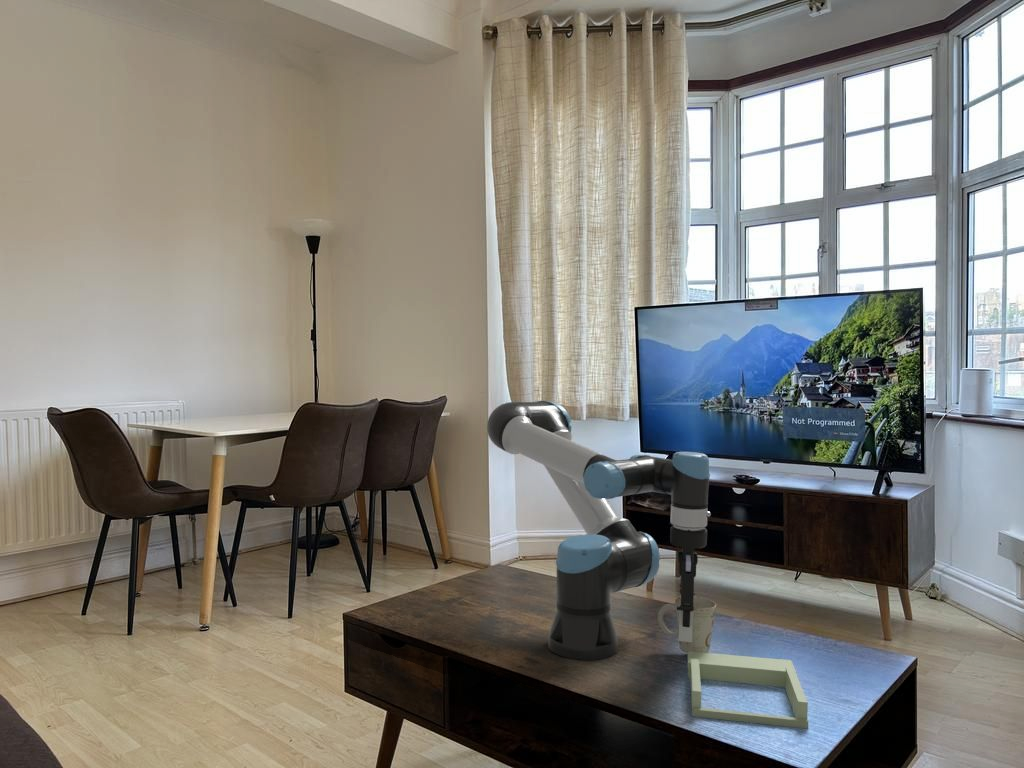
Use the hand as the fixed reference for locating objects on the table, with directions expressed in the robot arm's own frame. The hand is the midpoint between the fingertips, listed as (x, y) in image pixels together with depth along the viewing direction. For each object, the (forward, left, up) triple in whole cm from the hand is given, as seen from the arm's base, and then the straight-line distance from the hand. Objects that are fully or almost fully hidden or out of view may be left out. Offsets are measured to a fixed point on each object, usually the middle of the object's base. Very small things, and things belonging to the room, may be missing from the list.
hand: (685, 633), depth 156 cm
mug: (0, +1, -4) cm, 4 cm away
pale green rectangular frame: (+10, -17, -5) cm, 20 cm away
